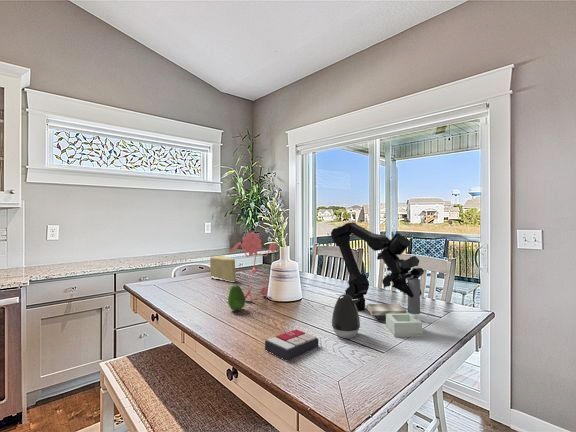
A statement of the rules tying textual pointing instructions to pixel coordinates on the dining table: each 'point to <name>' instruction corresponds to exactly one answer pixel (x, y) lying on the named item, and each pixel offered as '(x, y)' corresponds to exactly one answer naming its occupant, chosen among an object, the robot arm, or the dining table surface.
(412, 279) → the dark grey block
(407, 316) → the socket stand
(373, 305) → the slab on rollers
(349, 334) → the dark egg shaped device
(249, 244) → the figurine
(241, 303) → the avocado
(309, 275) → the dining table surface
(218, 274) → the cheese
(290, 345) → the red and grey box
